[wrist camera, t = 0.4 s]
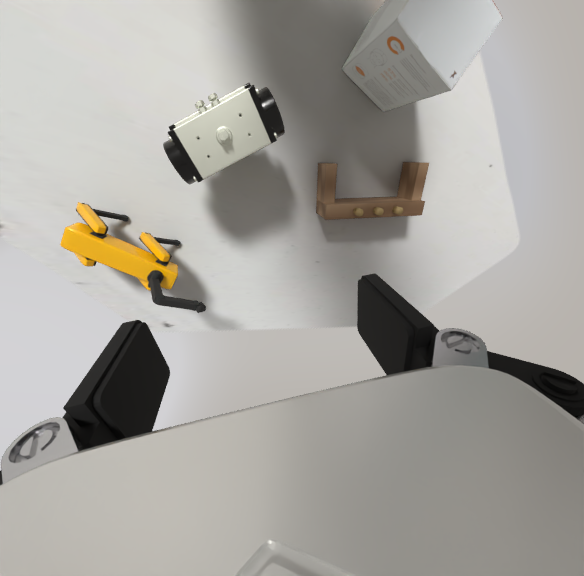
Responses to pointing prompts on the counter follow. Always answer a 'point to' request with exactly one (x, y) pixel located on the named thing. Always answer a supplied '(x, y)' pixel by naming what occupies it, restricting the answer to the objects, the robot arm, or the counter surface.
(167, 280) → the robot dog
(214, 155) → the pneumatic valve
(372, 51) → the small box
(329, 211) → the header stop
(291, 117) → the counter surface
